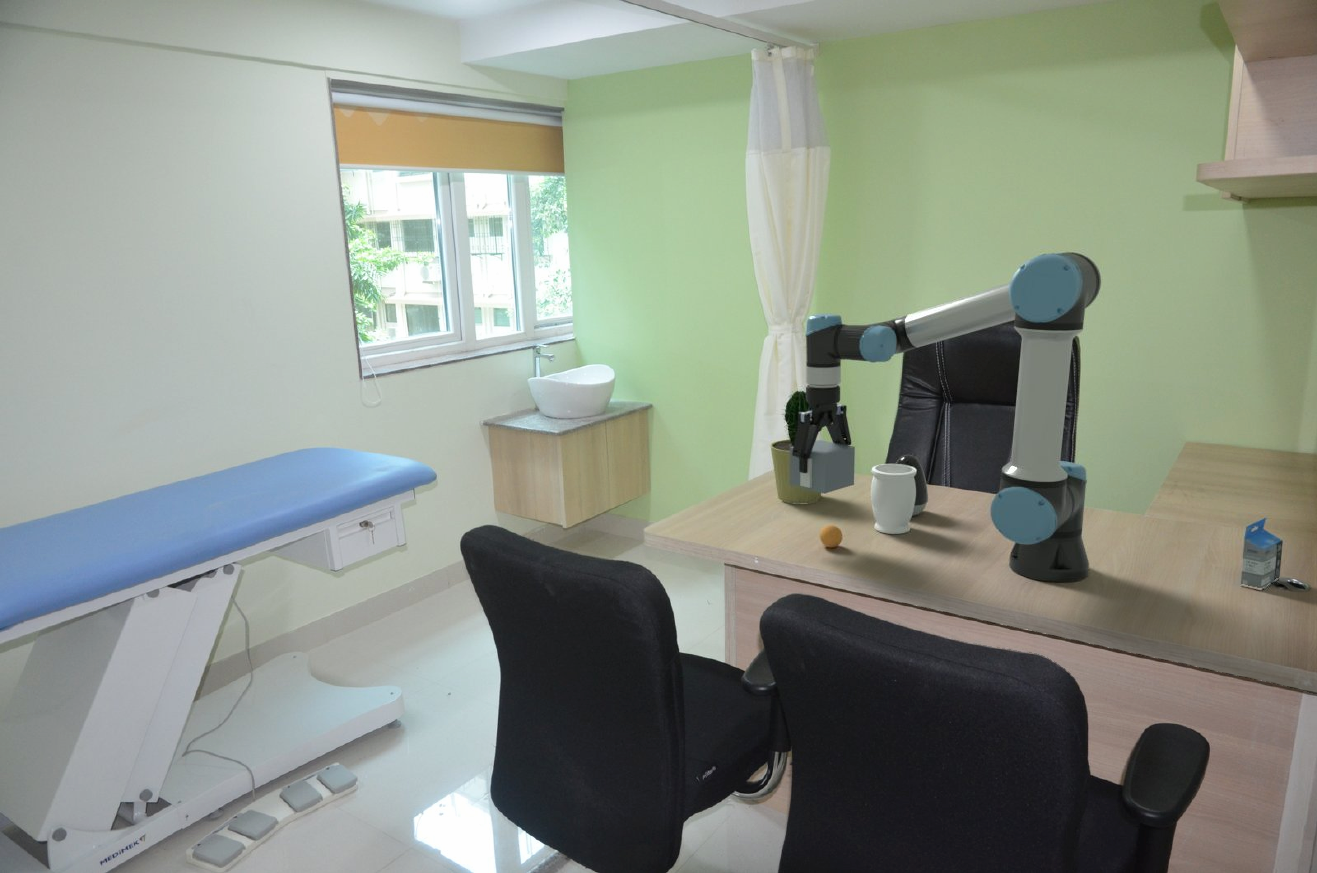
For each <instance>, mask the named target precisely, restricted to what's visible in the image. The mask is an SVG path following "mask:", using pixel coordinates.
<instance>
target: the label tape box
mask: <svg viewBox="0 0 1317 873" xmlns="http://www.w3.org/2000/svg"><path fill="white" fill-rule="evenodd" d="M1266 520H1267V517H1264V518H1261V519H1259V520H1256V521H1255V522H1252V523H1250V524H1248V525H1246V527H1245V531H1244V536H1243V548H1242V558H1241V559H1242V561H1241V572H1240V585H1241V584H1245V585H1248V586H1252V587H1257V588H1263V587H1266V586H1267V585H1268V584H1269V583H1270V582H1273V581H1274V580H1275V579H1276V578H1279V579H1280V576H1281V566H1282V565H1281V564H1282V554H1283V545H1284V544H1283V540H1282V539H1280V537H1277V536H1276V535H1274V534H1272V533H1271V532H1269V531H1267V529H1266V530H1265V529H1264V527H1265V524H1266ZM1255 528H1256V529H1255ZM1253 529H1254V530H1253Z"/></svg>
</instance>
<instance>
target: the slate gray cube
mask: <svg viewBox="0 0 1317 873" xmlns="http://www.w3.org/2000/svg"><path fill="white" fill-rule="evenodd" d="M816 440H817V441H815V443H814V446H813V449H812V451H811V454H810V457H809V458H811V459H812V487H811V488H808V487H804V486H800V471H799V458H798V457H795V456H793V455H792V451H793V447H794V446H793V447H790V485H792V486H796V487H800V488H804V489H808V490H812V491H816V492H820V493H821V494H823V495H824V494H828V493H831V492H834V491H837V490H841V489H845V488H847V487H851V486H854V485H855V458H856V457H855V455H856V451H855V449H856V448H855V447H856V446H853V445H843V444H838V443H833V441H832V442H831V441H826V440H822V439H816ZM798 452H799V451H798ZM805 453H806V452H805Z"/></svg>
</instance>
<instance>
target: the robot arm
mask: <svg viewBox="0 0 1317 873" xmlns="http://www.w3.org/2000/svg"><path fill="white" fill-rule="evenodd" d="M1101 277H1102V276H1101V273H1100V270H1099V268H1098V266H1097V264H1096V263H1095V262H1094V261H1093V260H1092V259H1091V258H1089V257H1088V256H1086V255H1083V254H1082V253H1077V252H1072V251H1071V252H1068V251H1067V252H1060V253H1057V252H1056V253H1054V252H1052V253H1044V254H1039V255H1037V256H1035V257H1033V258H1030V259H1029V260H1027V261H1025V262H1024V263H1022V265H1021V266H1019V267H1018V269H1017V270H1016V271H1015V273H1014V274H1013V276H1012V278H1011V280H1010V281H1009V282H1007V283H1003V284H1000V285H997V286H994V287H991V288H988V289H984V290H982V291H979V292H975V293H972V294H968V295H965V296H963V297H959V298H957V299H953V300H950V301H947V302H944V303H941V304H938V305H937V304H936V305H934V306H931V307H928V308H924V309H921V310H919V311H915V312H913V313H910V314H907V315H902V316H899V317H896V318H894V319H889V320H886V321H881V322H875V323H870V324H843V322H842V316H841V315H839V314H836V313H835V314H834V313H820V314H819V313H818V314H812V315H810V316H809V317H808V318H807V319H806V331H805V340H806V341H805V343H806V352H805V354H806V363H805V364H806V369H805V370H806V371H805V372H806V375H805V381H806V382H805V383H806V384H807V386H805V392H806V401H807V402H808V404H809V409H808V412H799V414H798V427H797V432H796V437H795V442H794V447H793V451H792V455H793V456H795V457H798V458H799V471H800V486H804V487H808V488H811V487H812V459H811V458H809V457H810V454H811V451H812V449H813V446H814V443H815V441H816V440H817V438H818V436H819V432H821V431H822V429H823V428H824V427H826V429H827V431H828V434H829V436H830V438H831V441H832V442H833V443H838V444H843V445H848V446H852V438H851V432H850V427H849V422H848V417H847V410H848V409H847V408H848V406H847V405H846V404H839V402H840V401H841V386H840V385H839V384H841V382H842V375H841V374H842V373H841V372H842V371H841V369H842V368H841V366H842V365H841V364H842V363H841V362H842V361H843V360H847V361H848V360H849V361H861V362H870V363H886V362H889V361H890V360H891V359H892V357H893V356H894V355H898V354H902V353H906V352H908V351H910V350H914V349H916V348H920V347H921V348H922V347H923V346H927V345H930V344H935V343H938V342H942V341H945V340H949V339H952V338H956V337H960V336H962V335H966V334H971V333H973V332H977V331H981V330H984V329H989V328H990V327H995V326H997V325H1003V324H1005V323H1008V322H1012V321H1014V324H1013V325H1014V326H1013V328H1014V329H1015V331H1016V332H1018V334H1019V336H1021V346H1020V357H1019V365H1018V366H1019V369H1018V378H1017V380H1018V381H1017V388H1016V390H1017V392H1016V402H1015V411H1014V412H1015V413H1014V422H1013V424H1014V425H1013V433H1012V434H1013V436H1012V445H1011V446H1012V447H1011V458H1010V461H1009V462H1008V463H1006V464H1005V465H1004V466H1002V468H1001V474H1000V475H1001V476H1000V483H999V486H1000V487H999V492H997V493H996V494H995V496H994V498H993V500H992V501H991V504H990V518H991V521H992V524H993V525H994V527H995V529H997V531H998V533H1000V534H1001V535H1002V536H1003V537H1004V538H1006V539H1007V540H1009V541H1010V542H1012V543H1014V544H1013V547H1012V548H1011V551H1010V554H1009V559H1008V560H1009V561H1008V562H1009V564H1008V566H1009V568H1010V569H1011V570H1012V571H1013V572H1015V573H1016V574H1019V575H1020V576H1023V577H1026V578H1029V579H1032V580H1038V581H1044V582H1050V583H1051V582H1052V583H1069V582H1070V583H1071V582H1076V581H1082V580H1083V579H1086V578H1087V577H1088V576H1089V570H1090V563H1089V557H1088V555H1087V551H1086V547H1085V544H1084V541H1083V526H1084V525H1083V524H1084V523H1083V522H1084V511H1085V502H1086V501H1085V499H1086V487H1087V482H1088V479H1087V469H1086V468H1085V466H1083V465H1082V464H1079V463H1076V462H1070V461H1063V460H1061V456H1062V446H1063V434H1064V427H1065V419H1066V418H1065V416H1066V406H1067V398H1068V388H1069V387H1068V386H1069V376H1070V368H1071V367H1070V366H1071V359H1072V348H1073V340H1074V339H1075V337H1076V336H1078V335H1079V334H1081V333H1082V332H1083V330H1084V322H1085V316H1086V315H1085V314H1086V309H1087V308H1089V307H1090V305H1092V303H1094V301H1095V300H1096V299H1097V297H1098V295H1099V293H1100V290H1101V285H1102V278H1101ZM798 451H799V452H798ZM805 452H806V453H805Z"/></svg>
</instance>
